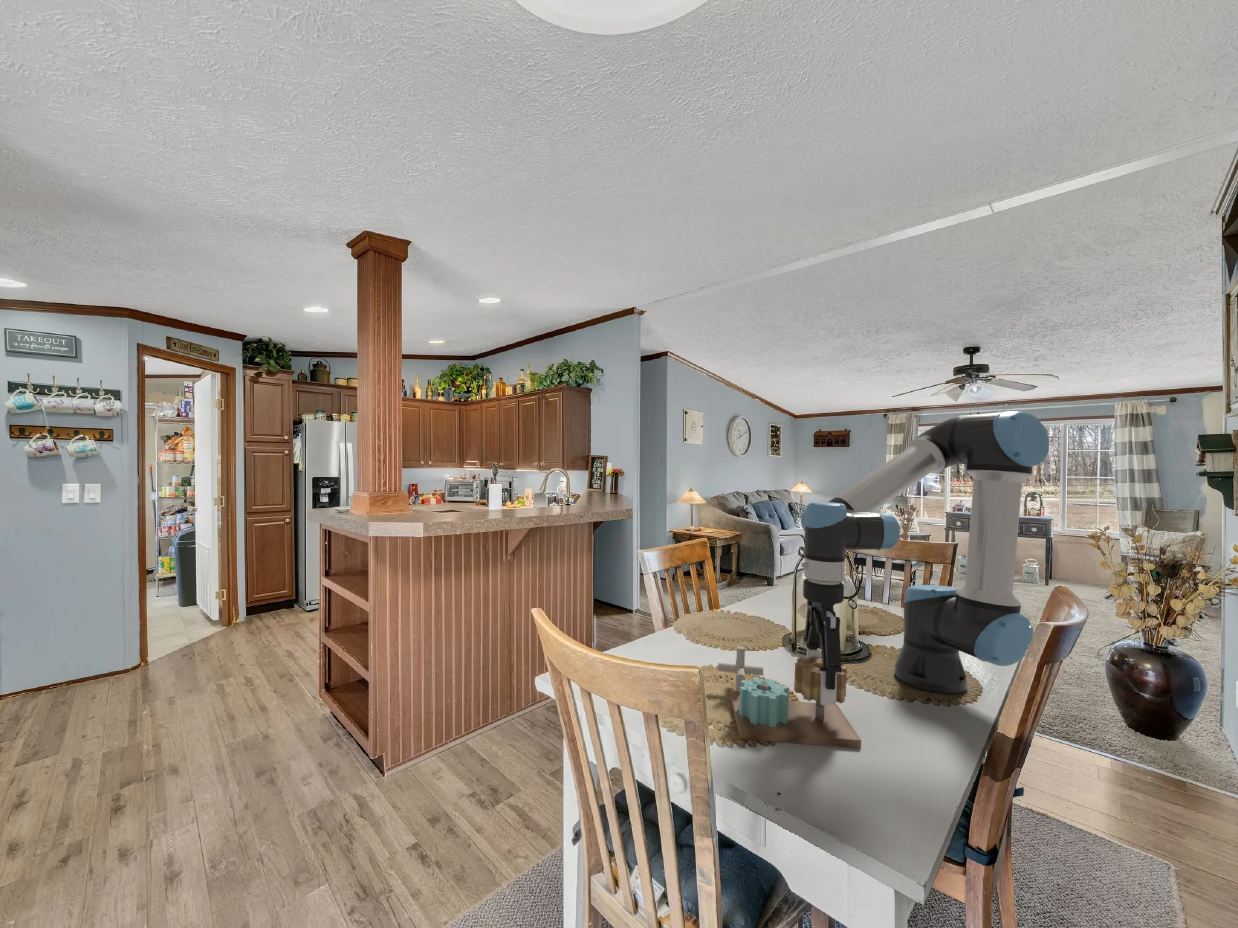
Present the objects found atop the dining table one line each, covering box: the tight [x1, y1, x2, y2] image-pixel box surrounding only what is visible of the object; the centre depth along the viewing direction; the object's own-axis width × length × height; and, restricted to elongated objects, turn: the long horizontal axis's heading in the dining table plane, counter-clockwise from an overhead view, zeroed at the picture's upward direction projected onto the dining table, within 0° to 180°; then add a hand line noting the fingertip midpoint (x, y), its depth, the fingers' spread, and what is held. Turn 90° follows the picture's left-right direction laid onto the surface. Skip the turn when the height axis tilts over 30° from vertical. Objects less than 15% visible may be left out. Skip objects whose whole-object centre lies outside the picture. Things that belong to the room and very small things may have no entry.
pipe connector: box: [717, 645, 764, 692], centre depth 118 cm, size 10×10×10 cm
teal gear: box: [739, 676, 789, 727], centre depth 104 cm, size 10×10×6 cm
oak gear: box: [793, 657, 848, 704], centre depth 103 cm, size 10×10×6 cm
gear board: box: [730, 684, 862, 749], centre depth 104 cm, size 22×14×8 cm, turn 84°
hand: (820, 691), depth 103 cm, fingers closed on oak gear, 10 cm apart
